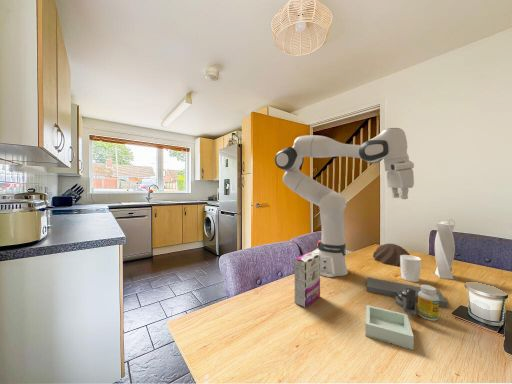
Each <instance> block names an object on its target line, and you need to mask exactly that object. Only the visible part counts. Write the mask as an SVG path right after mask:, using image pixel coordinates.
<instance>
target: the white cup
mask: <svg viewBox="0 0 512 384" xmlns="http://www.w3.org/2000/svg"><path fill="white" fill-rule="evenodd" d="M421 265H422V258H421V257H419V256H415V255H411V254H410V255H400V266H399V267H400V277H401V279H402V280H405V281H407V282H413V283H418V282H420V275H421Z"/></svg>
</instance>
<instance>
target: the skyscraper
mask: <svg viewBox="0 0 512 384" xmlns="http://www.w3.org/2000/svg"><path fill="white" fill-rule="evenodd" d="M450 221H452V223H450ZM434 224H435V227H436V234H435V239H434V256H435V257H434V258H435V262H436V268H435V272H432V273H433V274H434V275H435V276H436V277H437V278H439V279H444V280H452V281H459V279H458V278H457V277H455V276H454V275H453V273H452V270H453V267H452V265H453V262H454V259H455V252H456V244H455V243H456V242H455V238H454V233H453V231H454V228H455V227H456V222H455V220H453V219H448V220H447V221H441V220H438V221H435V222H434Z"/></svg>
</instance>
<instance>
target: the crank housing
mask: <svg viewBox="0 0 512 384" xmlns="http://www.w3.org/2000/svg"><path fill="white" fill-rule="evenodd" d="M406 288H412V289H414V290H416V298H415V307H416V308H417V303H418V292H419V291H421V289H420V288H421V286H417V285H412V284H406V283H400V282H396V281H395V282H394V281H390V280H383V279H378V278H373V277H366V292H368V293H374V294H379V295H382V296H388V297H392V298H395V303H396V305H398V306H400V307H402V308H403V304H402V301H401V300H400V299H398V297H397V293H398V292H399V291H406ZM436 295H437V296H438V297H439V307H441V308H445V309H448V301H447V300H446V298H445V297H444V295H443V294H442V292H441V290H439V289H436Z"/></svg>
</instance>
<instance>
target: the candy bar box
mask: <svg viewBox="0 0 512 384" xmlns="http://www.w3.org/2000/svg"><path fill="white" fill-rule="evenodd" d="M293 264H294V304H296V305H298V306H301V307H303V308H306V309H307V308H308V307H309V306H310V305H311V304H313V303H314V302H315V301H316V300H317V299H319V297H321V275H320V254H316V253H312V251H311V252H310V251H309V252H307V253H305V254H302V255H300V256H299V257H296V258H294V262H293Z"/></svg>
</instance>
